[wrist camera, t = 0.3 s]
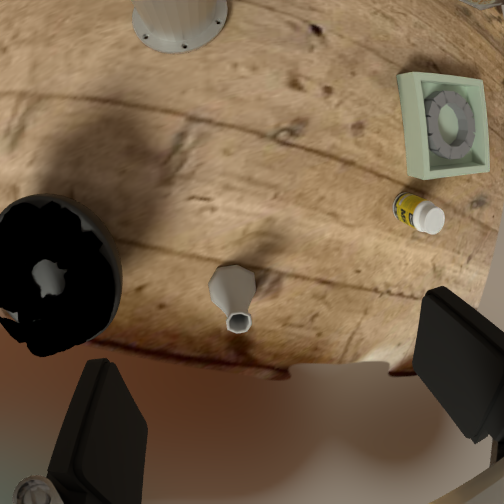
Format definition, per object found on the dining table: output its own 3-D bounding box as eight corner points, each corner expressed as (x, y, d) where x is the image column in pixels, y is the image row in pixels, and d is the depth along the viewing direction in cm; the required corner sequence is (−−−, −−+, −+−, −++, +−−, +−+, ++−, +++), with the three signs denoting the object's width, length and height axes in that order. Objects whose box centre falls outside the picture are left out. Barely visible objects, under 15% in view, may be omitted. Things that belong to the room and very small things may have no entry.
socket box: (396, 75, 39) (412, 71, 35) (465, 81, 40) (482, 80, 36) (407, 175, 45) (424, 180, 41) (472, 167, 46) (489, 171, 42)
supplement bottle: (386, 205, 47) (417, 219, 39) (406, 185, 46) (438, 197, 38) (400, 226, 48) (430, 243, 40) (419, 207, 48) (451, 222, 40)
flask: (261, 267, 47) (274, 300, 38) (250, 309, 50) (261, 348, 40) (212, 260, 46) (214, 293, 37) (204, 304, 48) (205, 343, 39)
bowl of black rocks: (83, 329, 47) (45, 410, 29) (2, 243, 40) (-68, 296, 22) (164, 255, 44) (143, 331, 27) (72, 151, 37) (-5, 169, 20)
